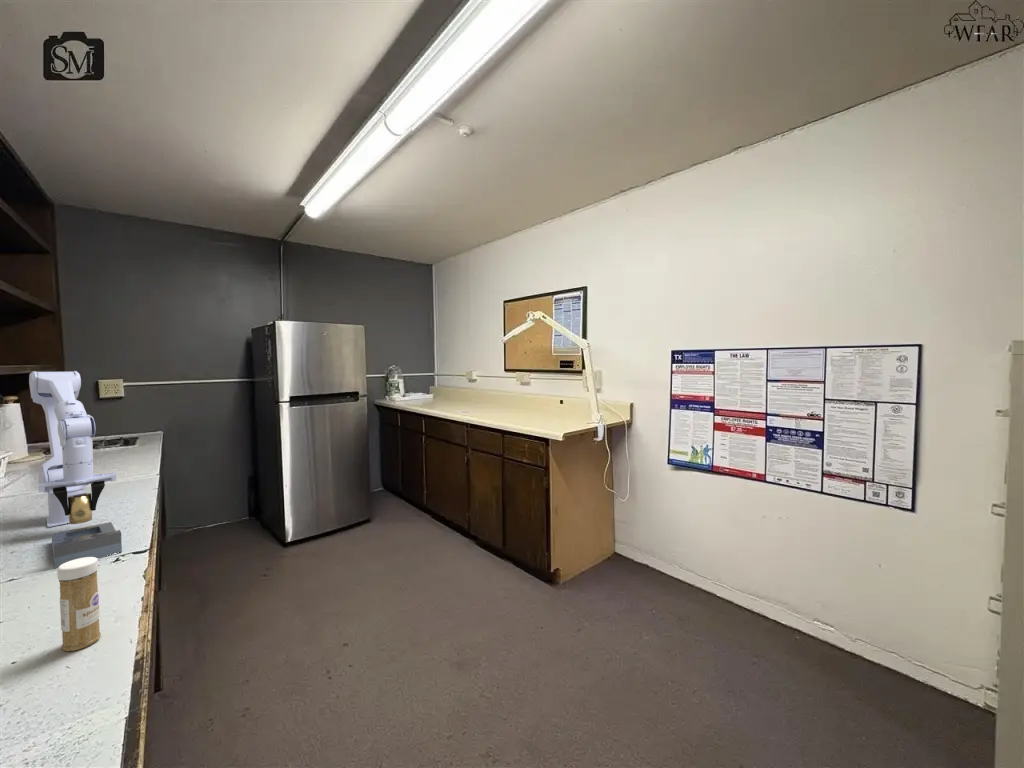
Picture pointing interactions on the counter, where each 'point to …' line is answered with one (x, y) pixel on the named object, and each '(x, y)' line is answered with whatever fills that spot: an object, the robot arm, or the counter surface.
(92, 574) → the sprinkles bottle
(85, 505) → the bushing
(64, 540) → the plate
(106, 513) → the counter surface
